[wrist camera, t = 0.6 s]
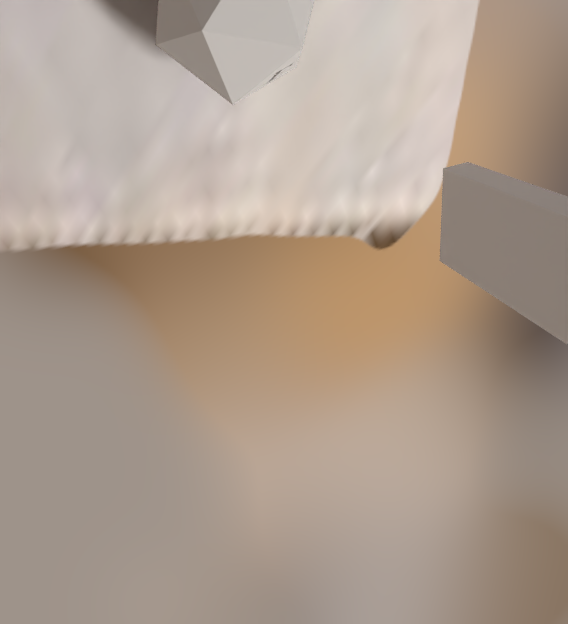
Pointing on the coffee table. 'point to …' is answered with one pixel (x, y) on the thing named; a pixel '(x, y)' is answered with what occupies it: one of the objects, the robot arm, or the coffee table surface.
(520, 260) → the robot arm
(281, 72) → the die
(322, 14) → the coffee table surface
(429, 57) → the coffee table surface
